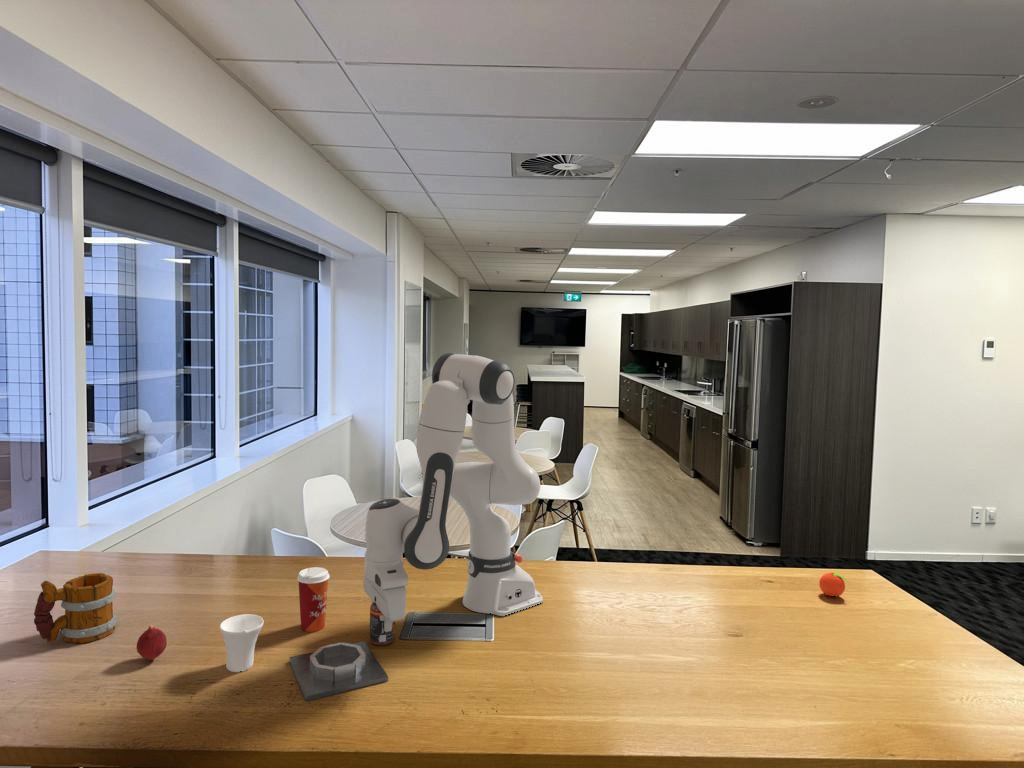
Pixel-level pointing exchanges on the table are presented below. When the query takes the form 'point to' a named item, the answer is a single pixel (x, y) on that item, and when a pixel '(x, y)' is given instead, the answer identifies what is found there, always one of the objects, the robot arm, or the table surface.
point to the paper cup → (313, 598)
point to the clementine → (832, 584)
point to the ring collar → (336, 669)
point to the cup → (240, 640)
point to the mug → (77, 609)
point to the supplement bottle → (379, 627)
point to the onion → (151, 643)
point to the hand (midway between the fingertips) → (382, 623)
